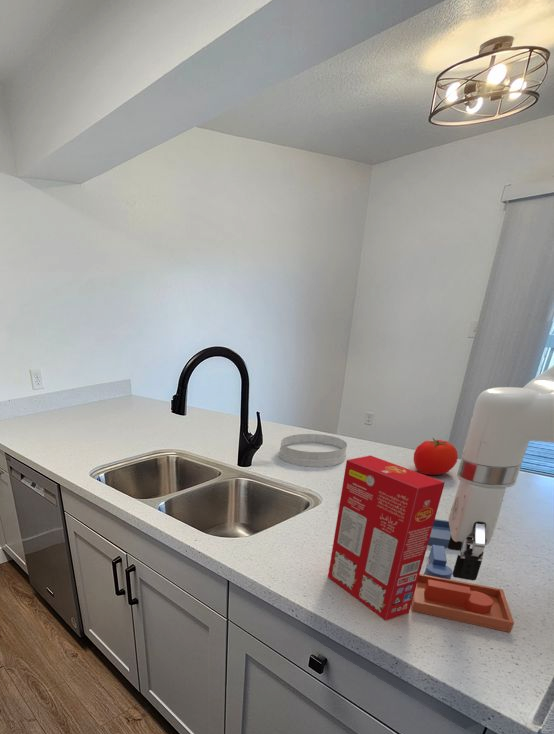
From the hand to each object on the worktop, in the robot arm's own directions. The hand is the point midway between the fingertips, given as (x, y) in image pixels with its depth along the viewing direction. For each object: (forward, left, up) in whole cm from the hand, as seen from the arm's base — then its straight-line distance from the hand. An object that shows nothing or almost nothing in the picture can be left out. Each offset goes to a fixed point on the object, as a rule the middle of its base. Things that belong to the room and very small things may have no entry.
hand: (460, 563), depth 75 cm
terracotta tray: (-1, 0, -9) cm, 9 cm away
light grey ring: (+36, -76, -9) cm, 84 cm away
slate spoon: (+1, -11, -9) cm, 14 cm away
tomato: (0, -71, -9) cm, 71 cm away
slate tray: (+3, -27, -9) cm, 28 cm away
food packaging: (+14, +3, -9) cm, 16 cm away
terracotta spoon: (-1, 0, -8) cm, 8 cm away
